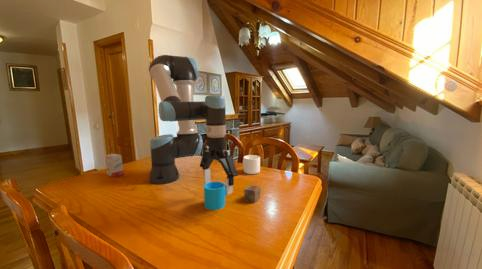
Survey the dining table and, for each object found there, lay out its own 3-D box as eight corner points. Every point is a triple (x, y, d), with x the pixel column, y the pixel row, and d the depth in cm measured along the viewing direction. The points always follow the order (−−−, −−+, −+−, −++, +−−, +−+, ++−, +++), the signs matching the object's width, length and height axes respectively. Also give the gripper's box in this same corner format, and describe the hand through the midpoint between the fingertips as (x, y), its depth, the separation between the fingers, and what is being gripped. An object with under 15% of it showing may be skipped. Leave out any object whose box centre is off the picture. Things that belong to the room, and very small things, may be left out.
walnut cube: (244, 200, 86) (244, 188, 85) (249, 195, 91) (249, 184, 90) (255, 203, 84) (255, 191, 83) (260, 198, 88) (260, 186, 87)
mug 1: (215, 212, 77) (215, 191, 76) (200, 206, 82) (199, 186, 80) (234, 199, 87) (234, 181, 85) (220, 195, 91) (219, 177, 90)
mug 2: (250, 167, 130) (250, 153, 129) (265, 170, 124) (265, 155, 123) (239, 172, 120) (239, 157, 119) (254, 176, 114) (254, 160, 113)
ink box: (123, 175, 118) (121, 154, 116) (114, 177, 114) (112, 156, 112) (116, 172, 123) (114, 153, 121) (107, 174, 119) (104, 154, 117)
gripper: (189, 134, 86) (192, 183, 89) (231, 140, 69) (233, 201, 72) (204, 132, 91) (206, 178, 94) (246, 137, 74) (247, 194, 77)
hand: (218, 188), depth 83 cm, fingers open, 13 cm apart
